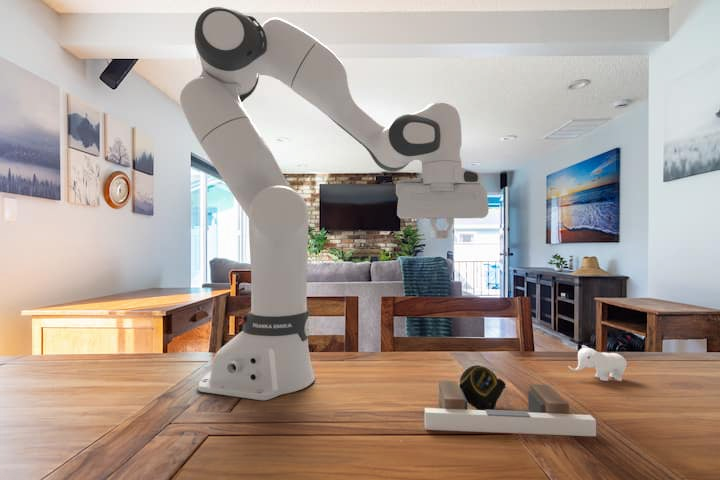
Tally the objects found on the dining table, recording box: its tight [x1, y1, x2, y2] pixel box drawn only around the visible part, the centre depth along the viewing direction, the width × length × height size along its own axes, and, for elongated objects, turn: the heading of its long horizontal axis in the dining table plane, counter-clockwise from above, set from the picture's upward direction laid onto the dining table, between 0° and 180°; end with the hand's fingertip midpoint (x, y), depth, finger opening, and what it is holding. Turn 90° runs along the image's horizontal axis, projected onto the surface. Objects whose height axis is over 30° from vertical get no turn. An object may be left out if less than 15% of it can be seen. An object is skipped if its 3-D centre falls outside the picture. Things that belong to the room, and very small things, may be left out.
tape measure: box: [458, 364, 507, 410], centre depth 61 cm, size 7×7×4 cm
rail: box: [424, 380, 597, 437], centre depth 57 cm, size 24×8×4 cm, turn 84°
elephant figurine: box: [567, 344, 628, 382], centre depth 74 cm, size 7×12×6 cm, turn 90°
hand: (441, 238), depth 82 cm, fingers closed
